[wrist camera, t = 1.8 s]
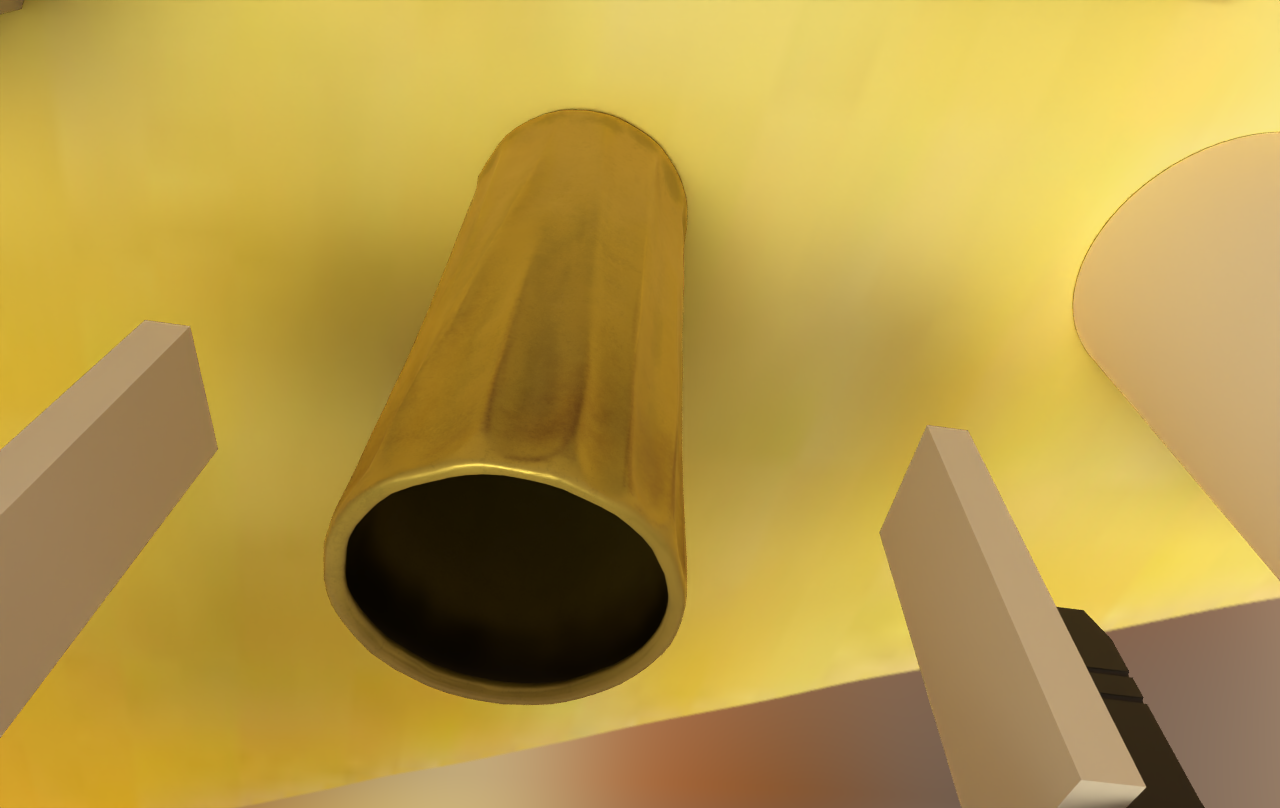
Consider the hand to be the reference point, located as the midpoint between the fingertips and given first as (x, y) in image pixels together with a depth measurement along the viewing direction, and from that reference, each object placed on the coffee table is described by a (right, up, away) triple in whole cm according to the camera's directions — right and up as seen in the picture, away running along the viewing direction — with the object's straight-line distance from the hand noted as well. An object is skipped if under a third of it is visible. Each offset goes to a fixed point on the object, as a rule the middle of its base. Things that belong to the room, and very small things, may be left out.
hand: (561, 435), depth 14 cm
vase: (0, +6, +9) cm, 11 cm away
